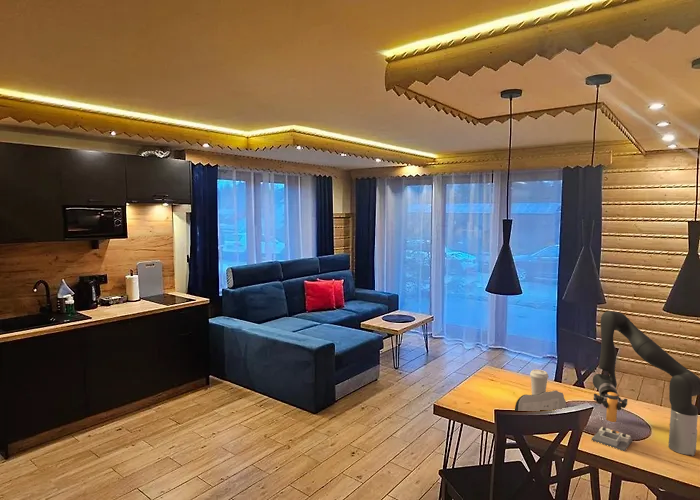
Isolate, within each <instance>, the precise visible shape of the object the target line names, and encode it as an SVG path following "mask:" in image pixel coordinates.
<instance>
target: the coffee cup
mask: <svg viewBox="0 0 700 500" xmlns="http://www.w3.org/2000/svg"><path fill="white" fill-rule="evenodd" d="M529 375H530V384H531V385H530V386H531V395H536V394H540V393H542V392H547V385H548V378H549V374H548V372H547V371H545V370H543V369H532V370H531V371H530V374H529Z"/></svg>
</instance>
